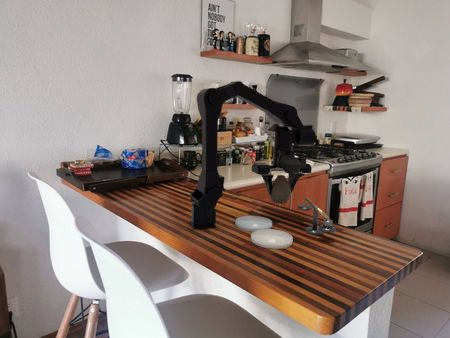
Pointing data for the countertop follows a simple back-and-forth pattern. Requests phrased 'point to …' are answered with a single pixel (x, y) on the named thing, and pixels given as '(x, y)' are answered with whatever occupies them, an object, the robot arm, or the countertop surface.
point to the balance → (326, 222)
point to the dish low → (271, 239)
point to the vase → (280, 190)
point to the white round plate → (253, 223)
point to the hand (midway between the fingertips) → (280, 194)
